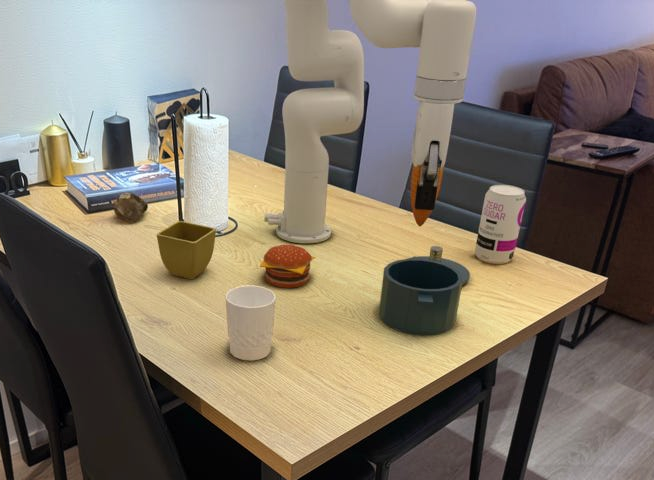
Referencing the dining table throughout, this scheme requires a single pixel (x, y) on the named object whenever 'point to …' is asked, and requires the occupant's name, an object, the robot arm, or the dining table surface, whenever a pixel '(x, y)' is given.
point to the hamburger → (287, 266)
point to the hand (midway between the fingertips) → (423, 202)
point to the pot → (420, 296)
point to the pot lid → (447, 262)
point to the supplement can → (500, 224)
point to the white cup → (250, 321)
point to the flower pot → (186, 248)
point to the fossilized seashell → (129, 207)
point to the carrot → (418, 213)
